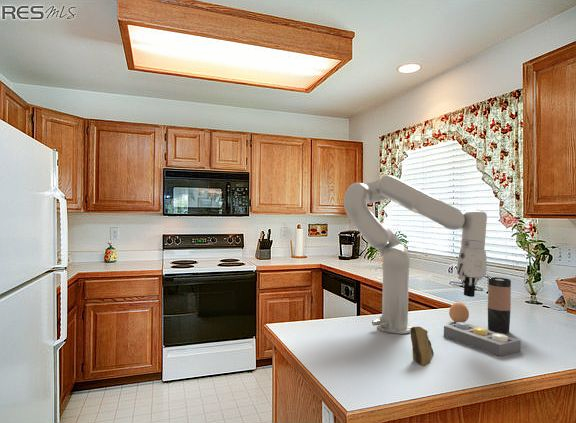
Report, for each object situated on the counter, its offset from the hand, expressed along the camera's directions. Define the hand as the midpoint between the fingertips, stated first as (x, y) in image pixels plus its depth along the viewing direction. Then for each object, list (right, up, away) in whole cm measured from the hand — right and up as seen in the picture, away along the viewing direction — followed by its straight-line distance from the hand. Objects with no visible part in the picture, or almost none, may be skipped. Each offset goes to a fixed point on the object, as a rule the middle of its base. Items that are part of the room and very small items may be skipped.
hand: (468, 295), depth 132 cm
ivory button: (+5, -14, -11) cm, 18 cm away
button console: (+1, -15, -5) cm, 16 cm away
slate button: (-2, -14, +1) cm, 14 cm away
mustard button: (+1, -14, -5) cm, 15 cm away
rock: (-23, -15, -20) cm, 34 cm away
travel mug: (+16, -16, +10) cm, 25 cm away
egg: (+5, -16, +19) cm, 25 cm away
